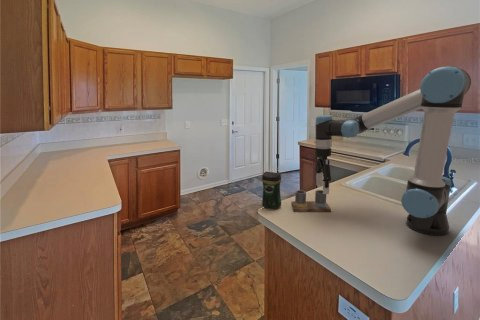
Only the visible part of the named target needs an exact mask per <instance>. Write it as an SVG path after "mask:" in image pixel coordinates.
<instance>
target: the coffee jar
mask: <svg viewBox="0 0 480 320" xmlns="http://www.w3.org/2000/svg"><path fill="white" fill-rule="evenodd" d="M261 182H262V189H263V190H262V201H261V206H262V207H263V208H265V209H271V210H277V209H280V208H281V207H282V200H281V199H282V197H281V182H282V175H281V173H280V172H272V171H265V172H263V173H262V177H261Z"/></svg>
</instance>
